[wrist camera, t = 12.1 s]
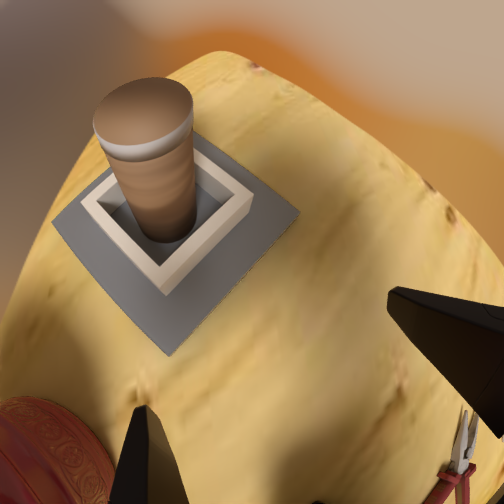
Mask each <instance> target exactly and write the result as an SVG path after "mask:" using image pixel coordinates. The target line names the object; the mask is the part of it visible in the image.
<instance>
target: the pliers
mask: <svg viewBox="0 0 504 504" xmlns="http://www.w3.org/2000/svg"><path fill="white" fill-rule="evenodd" d="M478 422H479V416H478V414H477V413H475V415H474V418H473V420H472V423H471V425H470V427H469V430H468V413H467V410H465V412H464V415H463V419H462V422H461V426H460V429H459V432H458V435H457V438H456V441H455V444H454V447H453V450H452V454H451V459H450V460H452V462H451V464H450V466H449V469H448V470H447V471H446V472H445V473H443V472H439V473H438V475H437V477H439V478H441V480H440V482H439V483H438V484H437V486H436V487H435V489H434V490H433V491H432V493H431V494H430V496H429V497H428V498H427V500H426V501H425V502H424V503H423V504H443V503H444V501H445V500H446V499H447V497H448V496H449V494H450V493H451V492H452V490H453V489H454V487H455V498H456V504H469V503H470V487H469V477H470V476H471V475H472V474H473V473H474V472H475V471H476V464H473V463H469V460H468V459H471V458H472V456H473V452H474V449H475V444H476V437H477V430H478Z"/></svg>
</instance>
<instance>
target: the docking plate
mask: <svg viewBox="0 0 504 504" xmlns="http://www.w3.org/2000/svg"><path fill="white" fill-rule="evenodd" d="M193 150H194V172H195V190H196V205H197V219H196V223H195V225H194V227H193V229H192V230H191V232H190V233H189V234H188V235H187V236H186V237H184V238H183V239H181V240H179V241H177V242H173V243H168V244H163V243H157V242H154V241H152V240H150V239H148V238H147V237H146V236H145V235H144V234H143V233H142V231H141V229H140V227H139V225H138V223H137V221H136V219H135V217H134V215H133V213H132V211H131V209H130V207H129V205H128V203H127V201H126V199H125V197H124V195H123V192H122V190H121V188H120V186H119V184H118V182H117V179H116V177H115V175H114V173H113V171H112V168H111V167H109V168H108V169H107V170H106V171H105V172H104V173H102V174H101V175H100V176H99V177H98V178H97V179H95V180H94V181H93V182H92V183H91V184H90V185H89V186H88V187H87V188H85V189H84V190H83V191H82V192H81V193H80V194H79V195H78V196H77V197H76V198H75V199H74V200H73V201H72V202H71V203H70V204H69V205H67V206H66V207H65V208H64V209H63V210H62V211H61V212H60V213H59V214H58V215H57V216H56V218H55V219H54V220H53V221H52V224H53V225H54V227H55V228H56V230H57V231H58V232H59V234H60V235H61V236H62V238H63V239H64V241H65V242H66V243H67V245H68V246H69V247H70V249H71V250H72V251H73V252H74V254H75V255H76V256H77V258H78V259H79V260H80V261H81V263H82V264H83V265H84V266H85V268H86V269H87V270H88V271H89V273H90V274H91V275H92V276H93V277H94V279H95V280H96V281H97V282H98V283H99V284H100V286H101V287H102V288H103V289H104V290H105V291H106V293H107V294H108V295H109V296H110V297H111V298H112V299H113V301H114V302H115V303H116V304H117V305H118V306H119V307H120V308H121V309H122V310H123V311H124V313H125V314H126V315H127V316H128V317H129V318H130V319H131V320H132V321H133V322H134V323H135V324H136V325H137V326H138V327H139V328H140V329H141V330H142V331H143V332H144V333H145V334H146V335H147V336H148V337H149V338H150V339H151V340H152V341H153V342H154V343H155V344H156V345H157V346H158V347H159V348H160V349H161V350H162V351H163V352H164V353H165V354H166V355H167V356H168V357H170V356H171V355H172V354H173V353H174V352H175V351H176V350H177V349H178V348H179V347H180V346H181V345H182V344H183V342H184V341H185V340H186V339H187V338H188V337H189V336H190V335H191V334H192V333H193V332H194V331H195V329H196V328H197V327H198V326H199V325H200V324H201V323H202V322H203V321H204V320H205V319H206V318H207V316H208V315H209V314H210V313H211V312H212V311H213V310H214V309H215V308H216V307H217V306H218V304H219V303H220V302H221V301H222V300H223V299H224V298H225V297H226V296H227V295H228V293H229V292H230V291H231V290H232V289H233V288H234V287H235V286H236V285H237V284H238V282H239V281H240V280H241V279H242V278H243V277H244V276H245V275H246V274H247V273H248V271H249V270H250V269H251V268H252V267H253V266H254V265H255V264H256V263H257V262H258V260H259V259H260V258H261V257H262V256H263V255H264V254H265V253H266V252H267V250H268V249H269V248H270V247H271V246H272V245H273V244H274V243H275V242H276V240H277V239H278V238H279V237H280V236H281V235H282V234H283V233H284V232H285V230H286V229H287V228H288V227H289V226H290V225H291V224H292V223H293V222H294V220H295V219H296V218H297V217H298V215H299V214H300V211H298V210H297V209H296V208H295V207H293V206H292V205H291V204H290V203H288V202H287V201H286V200H285V199H283V198H282V197H281V196H280V195H278V194H277V193H276V192H275V191H273V190H272V189H271V188H270V187H268V186H267V185H266V184H265V183H263V182H262V181H261V180H259V179H258V178H257V177H255V176H254V175H253V174H252V173H250V172H249V171H248V170H246V169H245V168H244V167H242V166H241V165H240V164H238V163H237V162H236V161H234V160H233V159H232V158H230V157H229V156H228V155H226V154H225V153H224V152H222V151H221V150H219V149H218V148H217V147H215V146H214V145H213V144H211V143H210V142H208V141H207V140H206V139H204V138H203V137H201V136H200V135H199V134H197V133H196V132H194V131H193Z"/></svg>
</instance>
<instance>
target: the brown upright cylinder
mask: <svg viewBox="0 0 504 504" xmlns="http://www.w3.org/2000/svg"><path fill="white" fill-rule="evenodd" d="M93 127H94V130H95V133H96V135H97V138H98V140H99V143H100V145H101V147H102V149H103V150H104V152H105V154H106V157H107V159H108V161H109V164H110V166H111V168H112V171H113V173H114V175H115V177H116V179H117V182H118V184H119V186H120V188H121V190H122V192H123V195H124V197H125V199H126V201H127V203H128V205H129V207H130V209H131V211H132V213H133V215H134V217H135V219H136V221H137V223H138V225H139V227H140V229H141V231H142V233H143V234H144V235H145V236H146V237H147V238H148V239H150V240H152V241H154V242H157V243H163V244H168V243H173V242H177V241H179V240H181V239H183V238H184V237H186V236H187V235H188V234H189V233H190V232H191V230H192V229H193V227H194V225H195V223H196V219H197V205H196V190H195V172H194V150H193V98H192V95H191V94H190V92H189V91H188V89H187V88H186V87H185V86H183V85H182V84H181V83H179V82H177V81H174V80H171V79H167V78H158V77H156V78H154V77H152V78H144V79H139V80H135V81H132V82H129V83H126V84H124V85H122V86H120V87H118V88H117V89H115V90H113V91H112V92H111V93H109V94H108V95H107V96H106V97H105V98H104V99H103V100H102V101H101V103H100V104H99V106H98V107H97V109H96V111H95V114H94V118H93Z"/></svg>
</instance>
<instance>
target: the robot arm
mask: <svg viewBox="0 0 504 504" xmlns="http://www.w3.org/2000/svg"><path fill="white" fill-rule="evenodd" d="M387 311H388V313H389V314H390V316H391V317H392V318H393V319H394V321H395V322H396V323H397V325H398V326H399V327H400V328H401V330H402V331H403V332H404V333H405V335H406V336H407V337H408V338H409V340H410V341H411V342H412V343H413V344H414V345H415V346H416V347H417V348H418V349H419V350H420V352H421V353H422V354H423V355H424V356H425V357H426V358H427V359H428V360H429V361H430V362H431V363H432V364H433V365H434V366H435V367H436V368H437V370H438V371H439V372H440V373H441V374H442V375H443V376H444V377H445V378H446V379H447V380H448V382H449V383H450V384H451V385H452V386H453V387H454V388H455V389H456V390H457V391H458V393H459V394H460V395H461V396H462V397H463V398H464V399H465V400H466V402H467V403H468V404H469V405H470V406H471V407H472V409H473V410H474V411H475V412H476V413H477V414H478V416H479V417H480V418H481V419H482V420H483V421H484V423H485V424H486V425H487V426H488V427H489V429H490V430H491V431H492V432H493V433H494V435H495V436H496V437H497V438H498V439H500V438H501V437H502V436H503V435H504V307H499V306H494V305H488V304H483V303H478V302H473V301H468V300H463V299H458V298H453V297H449V296H444V295H439V294H434V293H429V292H424V291H419V290H414V289H409V288H404V287H399V286H397V287H395V288H393V289H391V290H390V291H389V292H388V299H387ZM109 500H110V501H108V504H189V501H188V498H187V495H186V492H185V489H184V486H183V483H182V479H181V476H180V473H179V469H178V466H177V463H176V460H175V457H174V455H173V452H172V450H171V447H170V445H169V442H168V440H167V437H166V434H165V432H164V429H163V426H162V424H161V421H160V419H159V418H158V416H157V415H156V414H155V413H154V412H153V411H152V410H151V409H150V407H149V406H148V405H142V406H139V407H136V408H135V409H134V411H133V414H132V417H131V421H130V424H129V427H128V430H127V434H126V437H125V441H124V444H123V447H122V451H121V454H120V458H119V462H118V465H117V469H116V473H115V476H114V480H113V484H112V488H111V492H110V496H109ZM312 504H325V503H323V502H321V501H315V502H313V503H312ZM486 504H504V483H503V484H502V486H501V487H500V488H499V489H498V491H497V492H496V493H495V494H494V495H493V496H492V498H491V499H490V500H489V501H488V502H487V503H486Z"/></svg>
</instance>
